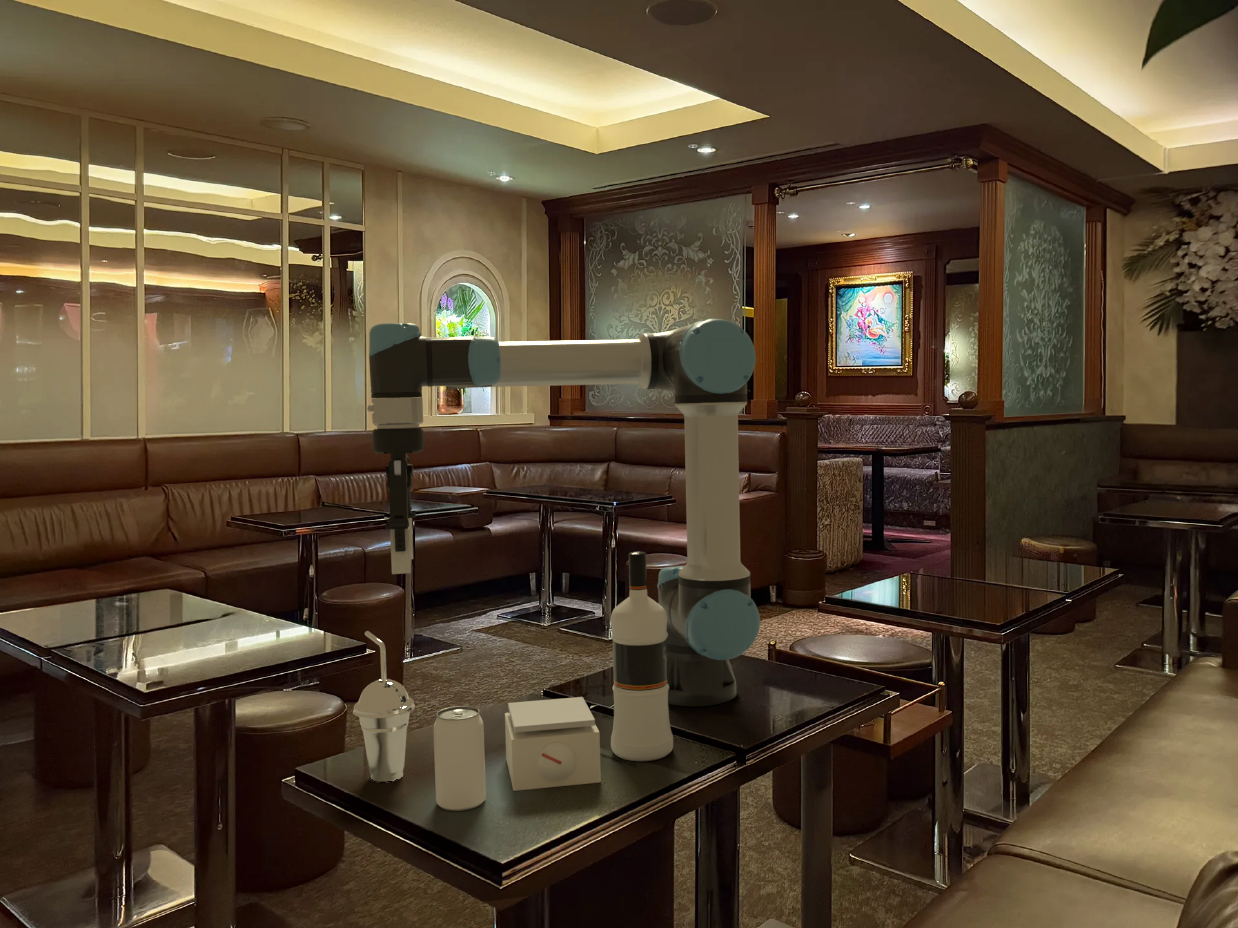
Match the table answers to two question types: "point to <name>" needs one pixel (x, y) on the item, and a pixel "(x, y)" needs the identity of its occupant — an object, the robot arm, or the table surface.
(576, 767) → the scale
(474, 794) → the can
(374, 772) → the cup with straw
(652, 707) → the vodka
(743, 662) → the table surface
